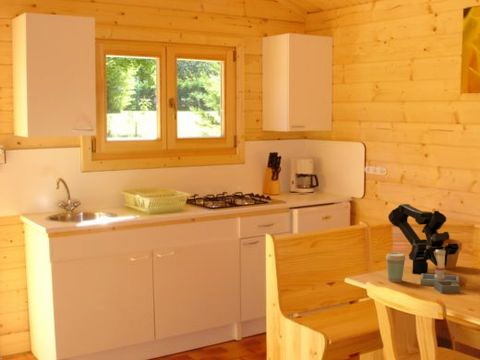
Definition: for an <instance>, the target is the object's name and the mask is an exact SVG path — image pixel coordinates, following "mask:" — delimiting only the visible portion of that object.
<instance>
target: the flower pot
mask: <svg viewBox="0 0 480 360" xmlns="http://www.w3.org/2000/svg"><path fill="white" fill-rule="evenodd" d="M448 243H457V244H458V246H459V249H458V250H457V252H456V254H453V255H448V256H447V265H446V266H444V267H445V270H453V269H456V266H457V263H458V259H459V255H460V251H462V250H463V249H462V248H463V241H462V240H460V239H455V238H450V237H449V239H448V240H446V241H444V244H442V246H447V245H448ZM434 255H435V251H434ZM435 258H436V255H435Z"/></svg>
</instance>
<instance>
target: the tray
mask: <svg viewBox="0 0 480 360" xmlns="http://www.w3.org/2000/svg"><path fill="white" fill-rule="evenodd" d="M444 275H445V280H435V273H434V274H433V273H427V274H420V284H419V285H420V286H429V287H430V286H431V287H434V281H453V282H455V283H457V284H458V285H460V278H459V277H460V276H459V275H449V274H444Z"/></svg>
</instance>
